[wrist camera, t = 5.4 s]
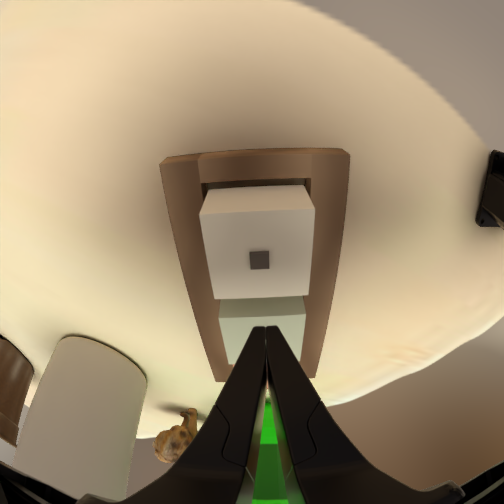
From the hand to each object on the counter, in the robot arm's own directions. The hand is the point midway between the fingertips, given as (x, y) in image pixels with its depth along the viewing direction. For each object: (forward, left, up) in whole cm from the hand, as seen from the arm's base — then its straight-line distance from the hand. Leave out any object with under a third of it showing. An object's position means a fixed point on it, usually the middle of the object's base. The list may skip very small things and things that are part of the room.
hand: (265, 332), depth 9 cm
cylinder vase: (+20, +19, -9) cm, 29 cm away
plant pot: (+45, +22, -9) cm, 51 cm away
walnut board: (0, +7, -9) cm, 11 cm away
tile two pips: (0, +7, -7) cm, 10 cm away
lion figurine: (+10, +33, -9) cm, 35 cm away
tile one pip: (0, 0, -7) cm, 7 cm away
